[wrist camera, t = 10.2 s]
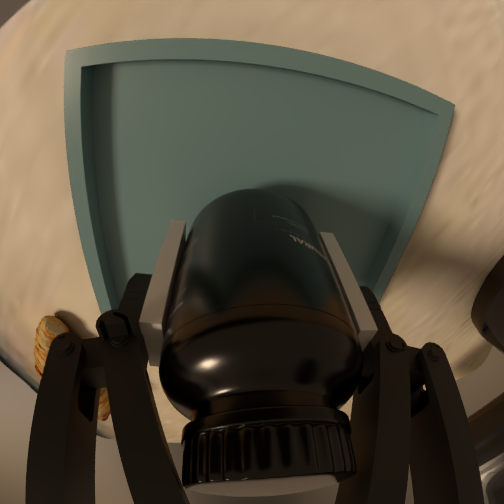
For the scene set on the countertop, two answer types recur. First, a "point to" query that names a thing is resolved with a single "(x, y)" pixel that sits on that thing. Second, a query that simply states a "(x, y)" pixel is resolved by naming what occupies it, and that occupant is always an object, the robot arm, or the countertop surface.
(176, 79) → the tray
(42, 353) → the croissant
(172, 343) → the supplement bottle
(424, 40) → the countertop surface
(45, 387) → the robot arm
